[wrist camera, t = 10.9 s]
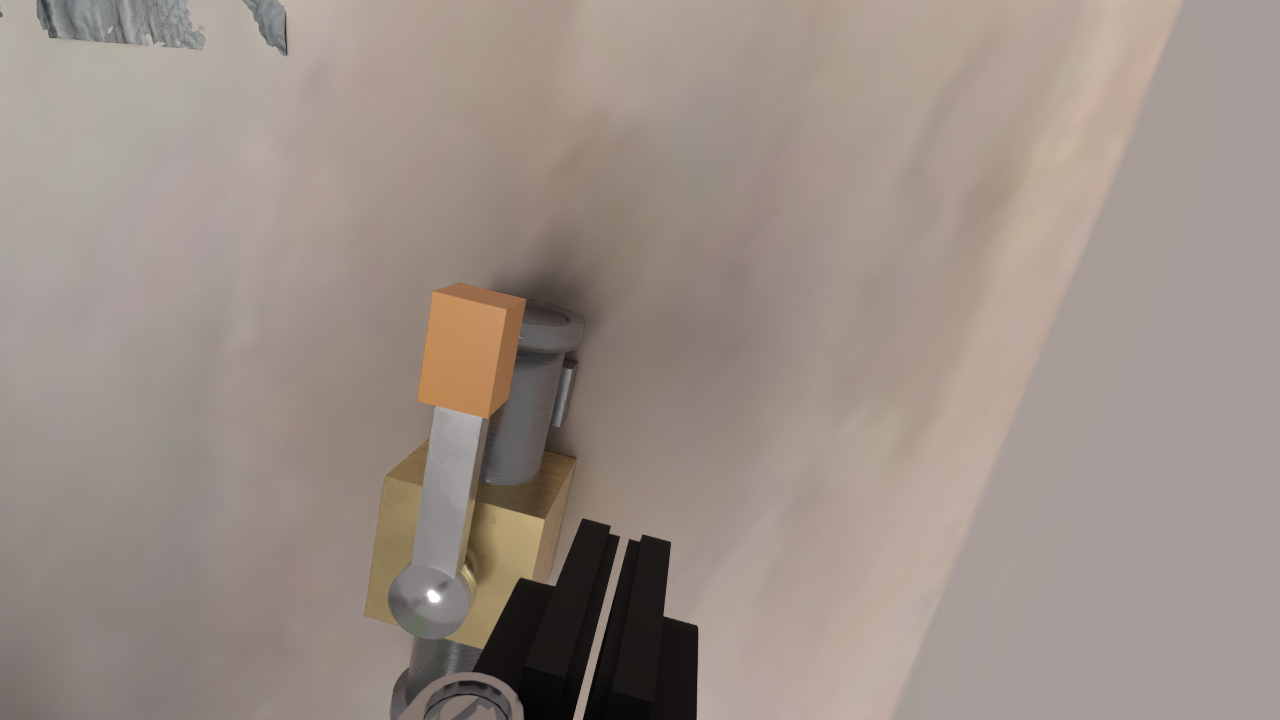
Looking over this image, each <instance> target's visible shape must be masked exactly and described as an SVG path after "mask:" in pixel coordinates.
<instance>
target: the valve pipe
mask: <svg viewBox="0 0 1280 720" xmlns="http://www.w3.org/2000/svg"><path fill="white" fill-rule="evenodd" d="M520 298H522V297H520ZM524 299H526V303H525V309H524V314H523V320H522V325H521V331H520V336H519V342H518V347H517V353H516V358H515V364H514V370H513V375H512V381H511V386H510V392H509V397H508V400H506V401H505V402H504V403H503V404H502V405H501V406H500V407H499V408H498V409H497V410H496V411H495V412H494V413H493V414H492V415H491V416H490V419H489V424H488V430H487V436H486V441H485V447H484V453H483V459H482V464H481V470H480V476H479V482H478V487H477V493H476V499H475V505H474V510H473V516H472V522H471V527H470V533H469V539H468V545H467V550H466V556H465V562H464V564H465V565H466V566H467V568H468V569H469V570H470V572H471V573H472V575H473V577H474V580H475V583H476V589H477V593H476V599H475V602H474V604H473V606H472V608H471V610H470V611H469V613H468V615H467V616H466V618H465V620H464V621H463V623H462V625H461V626H460V628H459V629H458V630H457V631H456V632H454V633H453V634H451V635H450V636H447V637H445V638H441V639H424V638H420V637H417V636H415V638H414V644H413V650H412V656H411V662H410V667H409V668H407V669H406V670H405V671H404V672H403V673H402V674H401V676H400V677H399V678H398V680H397V682H396V684H395V686H394V689H393V695H392V701H391V707H390V719H391V720H398V718H399V717H400V716H401V715H402V714H403V712H404V711H405V710H406V709H407V708H408V706H409V705H410V704H411V703H412V702H413V700H414V699H415V698H416V697H417V696H418V694H419V693H420V692H421V691H422V690H423V689H425V688H426V687H427V686H428V685H429V684H430V683H431V682H433V681H435V680H437V679H439V678H442V677H444V676H446V675H450V674H455V673H460V672H472V671H473V669H474V667H475V665H476V663H477V661H478V659H479V657H480V655H481V653H482V651H483V649H484V647H485V645H486V643H487V641H488V639H489V637H490V635H491V633H492V631H493V629H494V627H495V625H496V623H497V621H498V619H499V617H500V615H501V613H502V611H503V609H504V607H505V605H506V603H507V601H508V599H509V597H510V595H511V593H512V591H513V589H514V587H515V585H516V583H517V582H518V580H519V578H521V577H522V578H525V579H529V580H532V581H536V582H540V583H543V584H546V583H547V581H548V578H549V576H550V572H551V568H552V564H553V559H554V555H555V551H556V546H557V542H558V538H559V533H560V529H561V525H562V520H563V516H564V512H565V507H566V503H567V498H568V494H569V490H570V485H571V481H572V477H573V472H574V468H575V464H576V459H575V458H571V457H568V456H564V455H560V454H557V453H553V452H549V451H545V450H544V448H545V444H546V439H547V434H548V430H549V425H552V426H556V427H560V426H561V425H562V423H563V422H564V420H565V419H566V415H567V410H568V406H569V401H570V397H571V392H572V388H573V383H574V379H575V374H576V370H577V365H578V362H574V361H570V360H566V359H564V355H565V353H566V352H571V351H575V350H577V349H578V348H579V347H580V345H581V340H582V336H583V331H584V326H585V322H584V321H583V320H582V319H581V318H580V317H579V316H577V315H575V314H573V313H571V312H569V311H567V310H565V309H562V308H559V307H556V306H553V305H550V304H547V303H543V302H540V301H536V300H531V299H527V298H524ZM429 441H430V438H429V439H428V440H427V441H426V442H425V443H423V444H422V445H421V446H420V447H419V448H417V449H416V450H415V451H414V452H413V453H411V454H410V455H409V456H408V457H407V458H406V459H404V460H403V461H402V462H401V463H400V464H398V465H397V466H396V467H395V468H394V469H392V470H391V471H390V472H389V473H388V474H387V475H385V478H384V485H383V492H382V499H381V505H380V512H379V519H378V526H377V532H376V539H375V546H374V553H373V559H372V566H371V573H370V580H369V586H368V593H367V600H366V607H365V613H364V616H367V617H370V618H374V619H377V620H381V621H384V622H388V623H392V624H395V625H399V624H398V623H397V622H396V620H395V619H394V617H393V615H392V613H391V611H390V608H389V604H388V592H389V588H390V586H391V584H392V582H393V581H394V579H395V578H396V577H397V576H398V574H399V573H400V572H401V571H402V570H403V568H404V567H405V566H406V565H407V564H408V563H409V561H410V560H412V554H413V548H414V541H415V534H416V528H417V521H418V514H419V508H420V501H421V494H422V488H423V481H424V475H425V468H426V461H427V455H428V448H429ZM399 626H400V625H399Z"/></svg>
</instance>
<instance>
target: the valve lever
mask: <svg viewBox="0 0 1280 720" xmlns="http://www.w3.org/2000/svg"><path fill="white" fill-rule="evenodd" d="M525 303H526V299H524V298H520V297H516V296H512V295H508V294H504V293H500V292H495V291H491V290H487V289H483V288H479V287H475V286H471V285H467V284H463V283H457V284H454V285H451V286H448V287H445V288H442V289H438V290H435V291H433V293H432V300H431V307H430V314H429V321H428V328H427V335H426V342H425V349H424V356H423V363H422V370H421V377H420V384H419V391H418V398H417V401H419V402H423V403H427V404H431V405H435V408H434V415H433V421H432V428H431V435H430V441H429V448H428V455H427V461H426V468H425V475H424V481H423V488H422V494H421V501H420V508H419V514H418V521H417V528H416V534H415V541H414V548H413V554H412V560H410V561H409V563H408V564H407V565H406V566H405V567H404V568H403V570H402V571H401V572H400V573H399V574H398V576H397V577H396V578H395V579H394V581H393V582H392V584H391V586H390V588H389V592H388V604H389V608H390V611H391V613H392V615H393V617H394V619H395V620H396V622H397V623H398V624H399V625H400V626H401V627H402V628H403V629H405V630H406V631H407V632H409V633H411V634H413V635H415V636H417V637H420V638H424V639H441V638H445V637H447V636H450V635H451V634H453V633H454V632H456V631H457V630H458V629H459V628H460V626H461V625H462V623H463V621H464V620H465V618H466V616H467V615H468V613H469V611H470V610H471V608H472V606H473V604H474V602H475V599H476V593H477V589H476V583H475V580H474V577H473V575H472V573H471V572H470V570H469V569H468V568H467V566H466V565H465V564H464V562H465V556H466V550H467V545H468V539H469V533H470V527H471V522H472V516H473V510H474V505H475V499H476V493H477V487H478V482H479V476H480V470H481V464H482V459H483V453H484V447H485V441H486V436H487V430H488V424H489V419H490V416H491V415H492V414H493V413H494V412H495V411H496V410H497V409H498V408H499V407H500V406H501V405H502V404H503V403H504V402H505V401H506V400H508V397H509V392H510V386H511V381H512V375H513V370H514V364H515V358H516V353H517V347H518V342H519V336H520V331H521V325H522V320H523V314H524V309H525Z"/></svg>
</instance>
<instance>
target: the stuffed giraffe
mask: <svg viewBox="0 0 1280 720" xmlns="http://www.w3.org/2000/svg"><path fill="white" fill-rule="evenodd" d="M242 1H243V2H244V3H245V4H247V6H248V8H249V9H250V10H251V11H252V12H253V15H254V20H255V21H257V22H258V24H259V31H260V33H261V35H262V36H263V37H264V38H265V40H266V42H267V44H268V45H270V46H272V47H273V46H276V47H277V48H278V50H279V52H280V53H281V54H282V55H284V56H287V55H286V44H285V36H284V31H285V14H286V12H285V10H284V6H282V5H281V4H280V3H279V2H278V1H277V0H242ZM187 2H188V0H37V13H38V14H37V16H38V18H39V20H40V22H41V25H42V27H43V29H44V30H45V29H47V30H48V33H49V38H53V37H61V38H67V39H78V40H88V41H100V42H111V43H133V44H140V45H148V41H147V40H146V37H145V35H146V34H147V33H148V34H151V36H152V41H153V45H154V44H155V43H156V42H157V41H159V42H165V44H166V45H163V47H175V48H180V47H187V48H189V49H202V48H203V46H204V44H205V41H206V40H205V37H204V36H203V34H201V33H200V32H199V31H196V32H194V33H193V32H192V31H191V29H192V23H191V22H190V20H189V19H188V16H189V15H190V12H189V11H188V10H187V8H186V5H187ZM107 14H108V15H107ZM106 15H107V17H106ZM2 16H3V14H2V13H1V12H0V17H2ZM138 21H139V23H138ZM111 26H113V30H112V32H111V33H110V34H108V33H107V32H108V27H111ZM136 29H137V30H136ZM199 29H200V30H203V26H199ZM174 40H176V41H180V42H181V45H179V44H177V43H175V41H174ZM115 41H117V42H115ZM202 50H203V49H202Z"/></svg>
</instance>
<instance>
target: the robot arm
mask: <svg viewBox="0 0 1280 720" xmlns="http://www.w3.org/2000/svg"><path fill="white" fill-rule="evenodd" d="M610 528H611V526H609V525H606V524H602V523H598V522H595V521H591V520H587V519H583V518H582V521H581V523H580V526H579V528H578V531H577V533H576V536H575V538H574V541H573V543H572V546H571V548H570V551H569V553H568V556H567V558H566V561H565V563H564V566H563V568H562V571H561V573H560V576H559V579H558V581H557V584H556V586H555V587H554V586H551V585H547V584H543V583H540V582H536V581H532V580H529V579H525V578H522V577H521V578H519V580H518V582H517V583H516V585H515V587H514V589H513V591H512V593H511V595H510V597H509V599H508V601H507V603H506V605H505V607H504V609H503V611H502V613H501V615H500V617H499V619H498V621H497V623H496V625H495V627H494V629H493V631H492V633H491V635H490V637H489V639H488V641H487V643H486V645H485V647H484V649H483V651H482V653H481V655H480V657H479V659H478V661H477V663H476V665H475V667H474V669H473V671H472V672H460V673H455V674H450V675H446V676H444V677H442V678H439V679H437V680H435V681H433V682H431V683H430V684H429V685H428V686H427V687H426V688H425V689H423V690H422V691H421V692H420V693H419V694H418V696H417V697H416V698H415V699H414V700H413V702H412V703H411V704H410V705H409V706H408V708H407V709H406V710H405V711H404V712H403V714H402V715H401V716H400V717H399V718H398V720H573V717H574V713H575V709H576V705H577V701H578V698H579V694H580V690H581V686H582V682H583V678H584V675H585V671H586V667H587V663H588V659H589V655H590V651H591V647H592V644H593V640H594V636H595V632H596V628H597V624H598V620H599V616H600V612H601V609H602V605H603V601H604V597H605V593H606V589H607V585H608V581H609V578H610V574H611V570H612V566H613V562H614V558H615V554H616V550H617V546H618V543H619V539H620V536H616V535H612V534H609V532H610ZM670 548H671V542H669V541H665V540H661V539H658V538H654V537H650V536H647V535H643V534H642V537H641V540H640V542H638V541H634V540H631V539H629V542H628V545H627V549H626V553H625V557H624V561H623V564H622V568H621V572H620V576H619V580H618V584H617V587H616V591H615V595H614V599H613V603H612V606H611V610H610V614H609V618H608V622H607V626H606V629H605V633H604V637H603V641H602V645H601V649H600V652H599V656H598V660H597V664H596V668H595V672H594V676H593V680H592V684H591V688H590V692H589V696H588V700H587V705H586V709H585V713H584V717H583V720H697V672H698V627H697V625H693V624H689V623H686V622H682V621H679V620H675V619H671V618H668V617H664V616H663V614H664V604H665V595H666V586H667V576H668V567H669V557H670Z"/></svg>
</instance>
